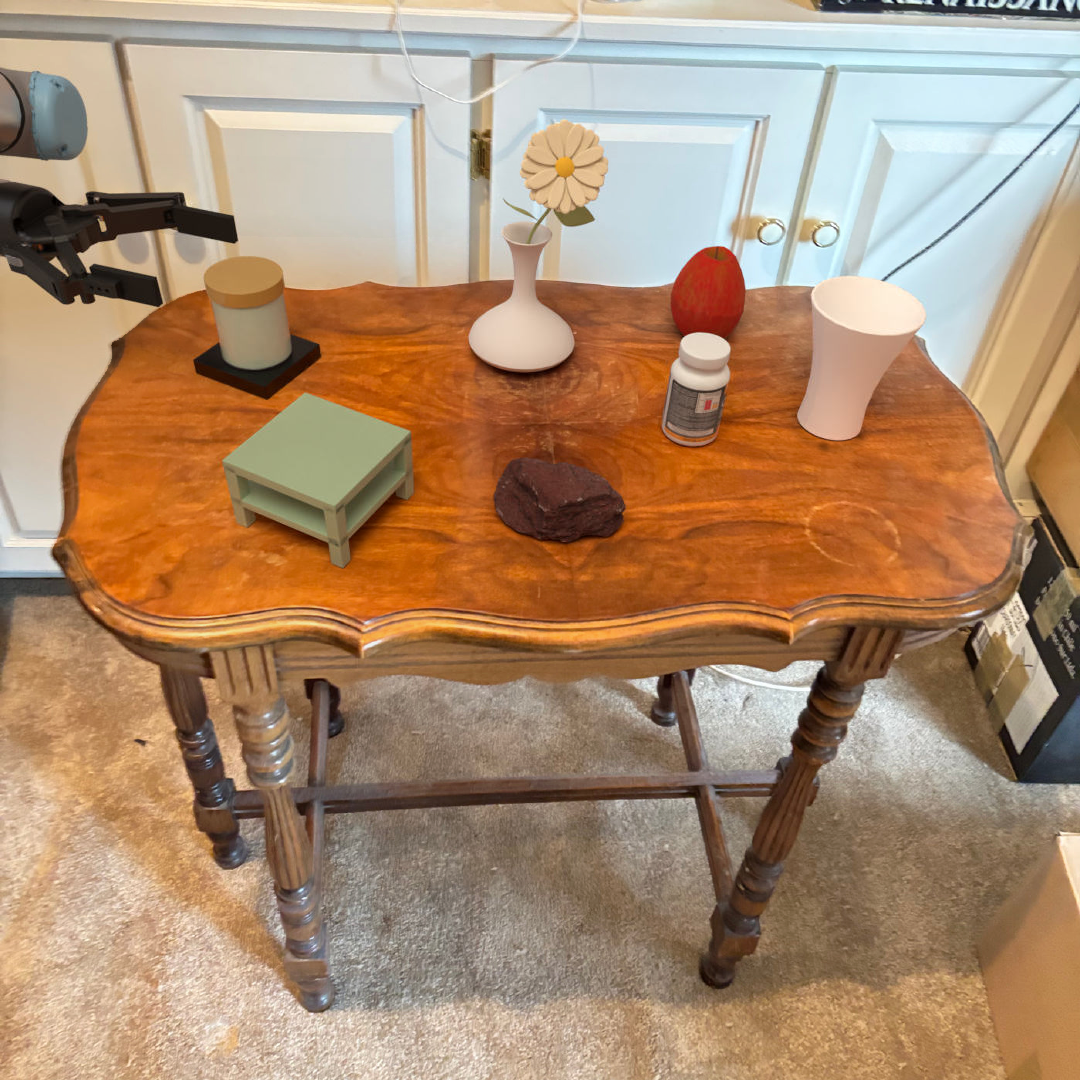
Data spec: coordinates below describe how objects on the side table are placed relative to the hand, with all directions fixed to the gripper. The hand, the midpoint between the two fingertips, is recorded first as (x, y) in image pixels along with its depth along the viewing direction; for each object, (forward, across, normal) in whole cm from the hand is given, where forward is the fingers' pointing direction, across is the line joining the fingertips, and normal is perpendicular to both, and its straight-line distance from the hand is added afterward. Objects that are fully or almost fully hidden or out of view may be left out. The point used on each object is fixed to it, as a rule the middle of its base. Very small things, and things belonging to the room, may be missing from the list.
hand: (198, 259), depth 91 cm
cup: (+62, -12, -11) cm, 65 cm away
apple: (+47, -24, -11) cm, 54 cm away
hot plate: (+5, 0, -11) cm, 12 cm away
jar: (+5, 0, -9) cm, 10 cm away
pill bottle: (+49, -5, -11) cm, 51 cm away
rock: (+40, +12, -11) cm, 43 cm away
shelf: (+21, +18, -11) cm, 29 cm away
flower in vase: (+30, -12, -11) cm, 34 cm away
